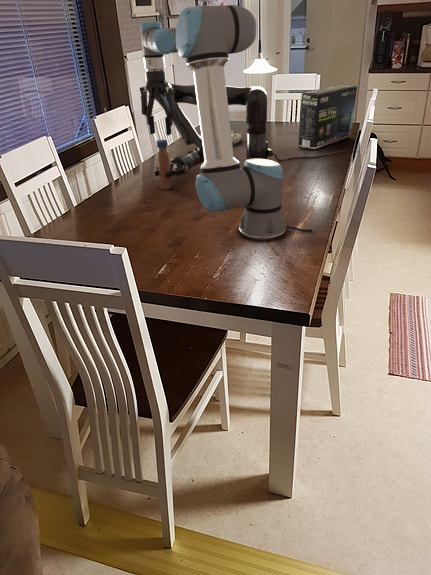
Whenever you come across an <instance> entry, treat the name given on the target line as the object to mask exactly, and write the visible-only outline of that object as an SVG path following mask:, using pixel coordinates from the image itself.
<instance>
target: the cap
mask: <svg viewBox="0 0 431 575" xmlns="http://www.w3.org/2000/svg"><path fill="white" fill-rule="evenodd" d="M155 144H156V148H166V149H167V148H168V147H169V146H168V140H167V139H157V140H156V141H155Z"/></svg>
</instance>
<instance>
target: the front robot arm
mask: <svg viewBox="0 0 431 575" xmlns="http://www.w3.org/2000/svg"><path fill="white" fill-rule="evenodd" d="M139 25H140V26H139V27H140V32H139V33H140V39H141V48H142V55H143V56H142V58H143V65H144V70H145V71H144V76H145V82H146V84H145V86H140V87H139V92H140V104H141V105H140V106H141V108H140V109H141V115H143V116H145V117H146V122H147V125H148V127H149V135H154V134H156V126H155V116H154V115H153V111H154V110H153V109H154V104H155V101H156V100H155V97H159V99H160V100H161V102H162V105H163V108H164V109H163V108H162V109H163V111H164V113H165V118H164V121H165V122H164V123H165V134H166V136H171V135H172V126H173V125H174V124H173V122H172V116H174V115H176V107H175V101H174V88H173V87H172V88H170V87H167V85H166V82H167V76H166V70H165V68H166V65H165V64H166V62H165V55H170V54H176V53H177V55H178V56H179V58H183V59H185V62H186V67H188V68H189V69H190V71H192V74H193V82H194V85H195V90H196V98H197V105H196V106H197V111H198V118H199V128H200V137H201V138H202V144H203V151H204V159H205V161H204V162H202V163H201V164H200V165H201V166H200V173H199V174H197V175H196V177H195V184H194V185H195V189H196V193H197V197H198V199H199V201H200V204H201V205H202V207H203V208H204V209H205V211H206V210H207V211H208V212H210V213H219V212H222V213H223V212H225V211H228V210H233V209H239V208H243V207H244V211H243V213H242V216H241V220H240V222H239V226H238V232H239V235H240V236H241V237H242V238H244V239H247V240H250V241H254V242H271V241H277V240H279V239H281V238H283V237H285V235H286V234H287V229H290V230H295V231H299V232H303V233H304V232H306V233H310V232H313V229H312V228H310V229H309V228H308V229H304V228H299V227H295V226H291V225H287V223H286V221H285V216H284V214H283V210H282V200H283V181H284V172H283V171H284V169H283V166H282V164H280V162H277V161H275V160H271V159H268V160H267V159H248V160H245V161H244V163H243V166H241V164H240V161H239V160H238V159H237V158H235V156H234V155H235V154H234V147H233V146H234V145H233V146H232V137H231V129H232V128H231V119H230V109H229V105H228V100H227V91H226V86H227V85H226V84H227V83H226V75H225V74H226V73H225V66H226V65H227V64H228V62H229V60H230V58H229V55H232V54H238V53H241V52H244V51H247V50H248V49H249V48H250V47H251V46H252V45H253V44H254V43H255V40H256V38H257V36H258V22H257V20H256V18H255V16H254V15H253V13H252V12H251V11H250V10H249V9H248V8H246V7H244V6H241V5H237V4H228V5H197V6H190V7H189V6H187V7H185V8H183V9H182V10H181V11H180V13H179V15H178V18H177V22H176V26H175V27H165V28H163V27H162V23H161V22H160V21H159V20H156V21H155V20H154V21H141V23H140V24H139ZM166 90H167V93H168V100H169V104H168V101H167V99H166V94H165V92H166ZM162 96H163V97H162Z"/></svg>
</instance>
